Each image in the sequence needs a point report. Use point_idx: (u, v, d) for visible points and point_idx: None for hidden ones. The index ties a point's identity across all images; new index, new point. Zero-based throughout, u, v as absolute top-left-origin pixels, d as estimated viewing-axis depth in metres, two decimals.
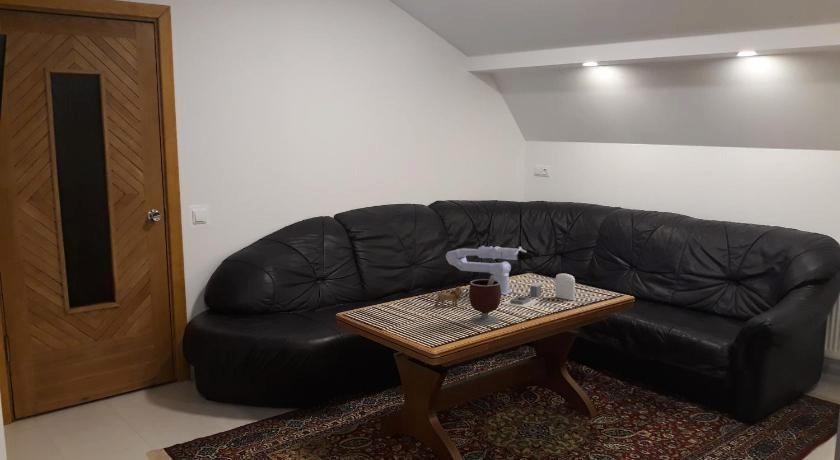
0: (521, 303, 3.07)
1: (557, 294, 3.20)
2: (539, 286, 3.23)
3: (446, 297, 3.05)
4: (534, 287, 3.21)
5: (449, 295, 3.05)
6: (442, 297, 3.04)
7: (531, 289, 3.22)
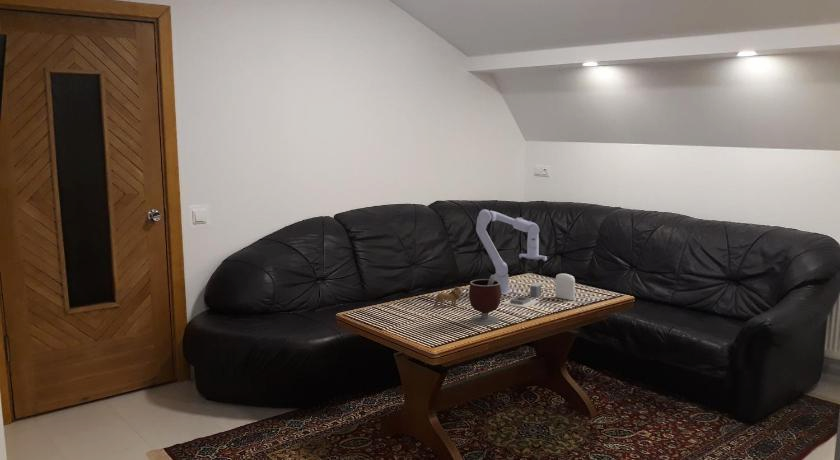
0: (521, 303, 3.07)
1: (557, 294, 3.20)
2: (539, 286, 3.23)
3: (445, 297, 3.05)
4: (534, 287, 3.21)
5: (448, 295, 3.05)
6: (441, 297, 3.04)
7: (531, 289, 3.22)
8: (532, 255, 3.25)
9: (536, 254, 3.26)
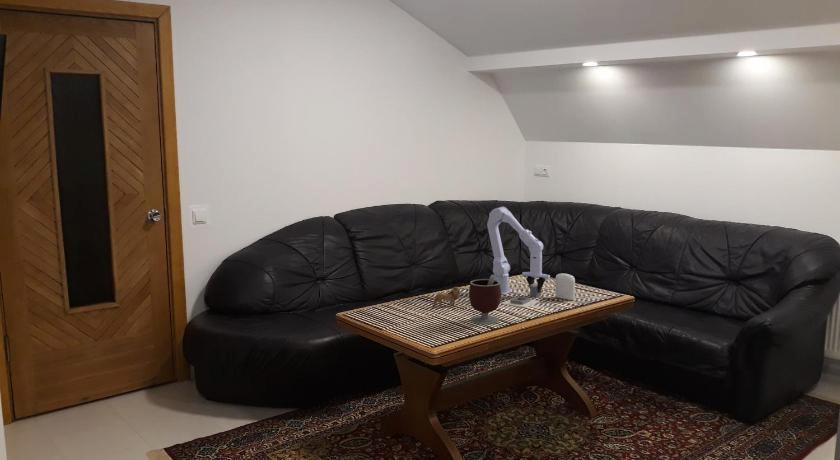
0: (521, 303, 3.07)
1: (557, 294, 3.20)
2: None
3: (444, 297, 3.05)
4: (534, 287, 3.21)
5: (447, 295, 3.05)
6: (440, 297, 3.04)
7: (531, 289, 3.22)
8: (535, 274, 3.20)
9: (539, 273, 3.20)
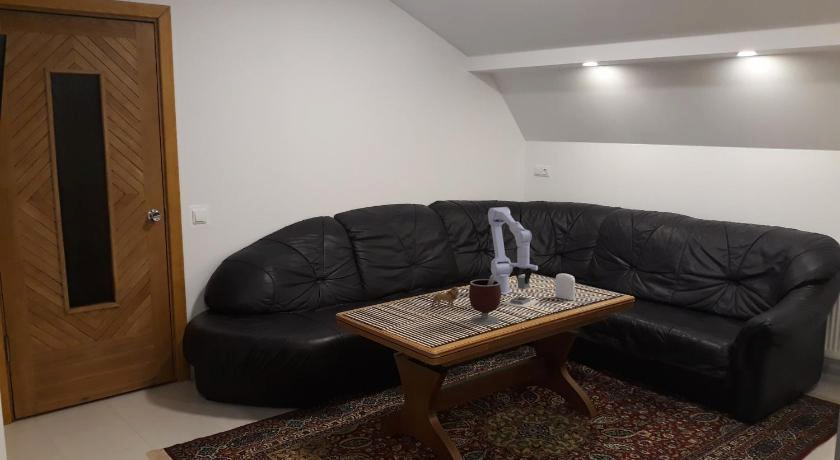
0: (521, 303, 3.07)
1: (557, 294, 3.20)
2: None
3: (442, 297, 3.04)
4: (522, 278, 3.10)
5: (445, 295, 3.05)
6: (438, 297, 3.04)
7: (519, 280, 3.11)
8: (522, 264, 3.08)
9: (526, 263, 3.08)
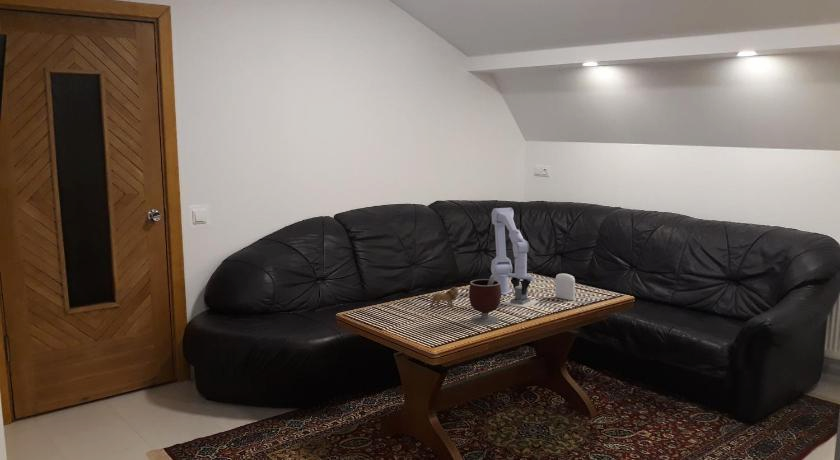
0: (521, 303, 3.07)
1: (557, 294, 3.20)
2: None
3: (441, 297, 3.04)
4: (519, 289, 3.09)
5: (444, 295, 3.05)
6: (437, 297, 3.04)
7: (516, 291, 3.10)
8: (519, 275, 3.07)
9: (523, 274, 3.07)
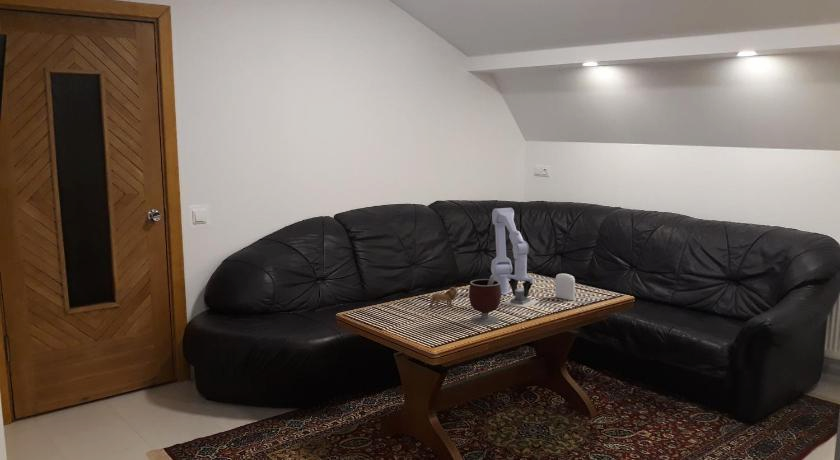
0: (521, 303, 3.07)
1: (557, 294, 3.20)
2: None
3: (441, 297, 3.04)
4: (518, 292, 3.09)
5: (444, 295, 3.04)
6: (437, 297, 3.04)
7: (516, 294, 3.10)
8: (519, 277, 3.07)
9: (523, 276, 3.07)
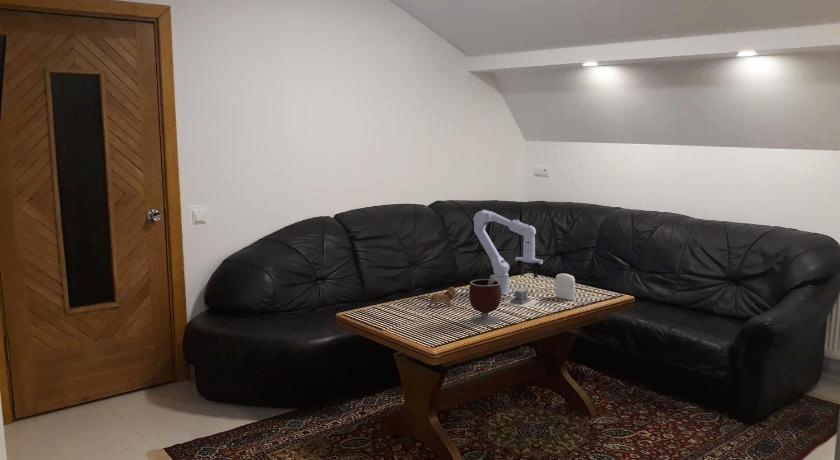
0: (521, 303, 3.07)
1: (557, 294, 3.20)
2: (524, 291, 3.10)
3: (439, 298, 3.04)
4: (518, 292, 3.09)
5: (442, 295, 3.04)
6: (436, 298, 3.03)
7: (516, 294, 3.10)
8: (528, 258, 3.22)
9: (532, 257, 3.22)
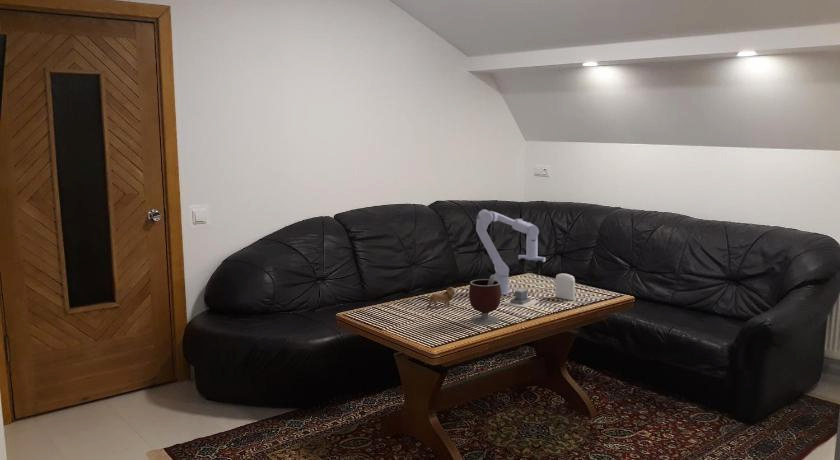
0: (521, 303, 3.07)
1: (557, 294, 3.20)
2: (524, 291, 3.10)
3: (439, 298, 3.04)
4: (518, 292, 3.09)
5: (442, 296, 3.04)
6: (435, 298, 3.03)
7: (516, 294, 3.10)
8: (531, 256, 3.28)
9: (535, 255, 3.28)
